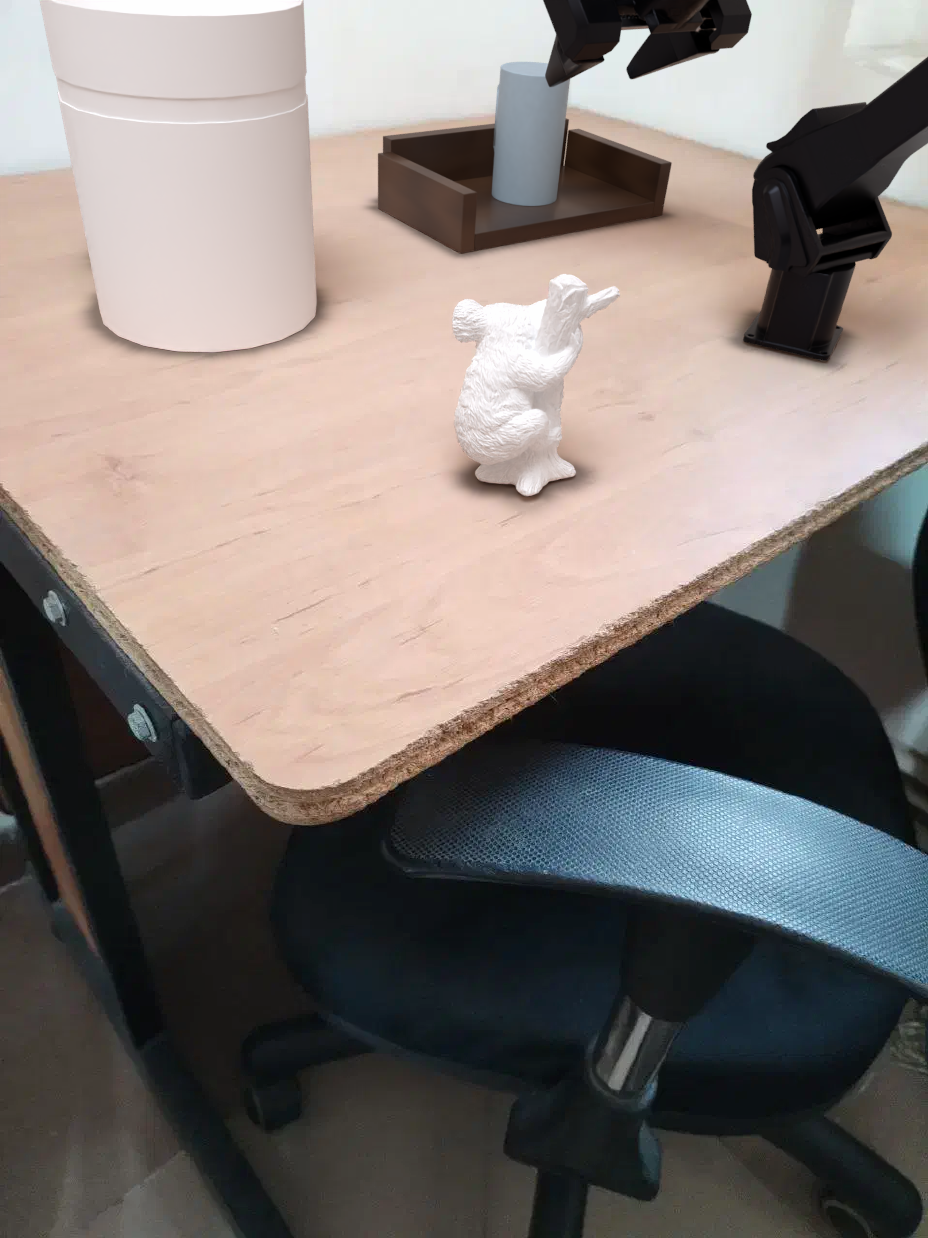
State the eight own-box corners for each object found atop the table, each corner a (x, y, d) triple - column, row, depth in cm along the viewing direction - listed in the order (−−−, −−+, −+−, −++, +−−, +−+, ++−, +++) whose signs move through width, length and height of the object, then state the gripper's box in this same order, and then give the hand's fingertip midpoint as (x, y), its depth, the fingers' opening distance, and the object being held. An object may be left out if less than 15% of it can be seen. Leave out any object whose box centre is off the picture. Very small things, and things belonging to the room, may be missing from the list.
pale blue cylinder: (569, 200, 93) (585, 73, 86) (518, 209, 90) (530, 78, 83) (517, 177, 98) (528, 55, 91) (467, 185, 95) (474, 59, 88)
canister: (352, 329, 71) (346, 12, 58) (135, 368, 64) (74, 19, 51) (269, 258, 81) (249, -25, 68) (75, 285, 74) (11, -24, 61)
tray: (662, 215, 96) (674, 150, 92) (460, 253, 84) (464, 181, 80) (563, 174, 106) (570, 114, 102) (369, 203, 94) (369, 137, 90)
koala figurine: (596, 461, 58) (628, 261, 50) (579, 520, 53) (613, 308, 45) (460, 437, 59) (472, 240, 51) (432, 493, 54) (440, 283, 46)
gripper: (760, -167, 72) (634, -15, 86) (572, -181, 63) (466, -9, 77) (813, -27, 72) (679, 102, 86) (633, -22, 64) (517, 121, 77)
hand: (589, 77), depth 82 cm, fingers open, 9 cm apart
